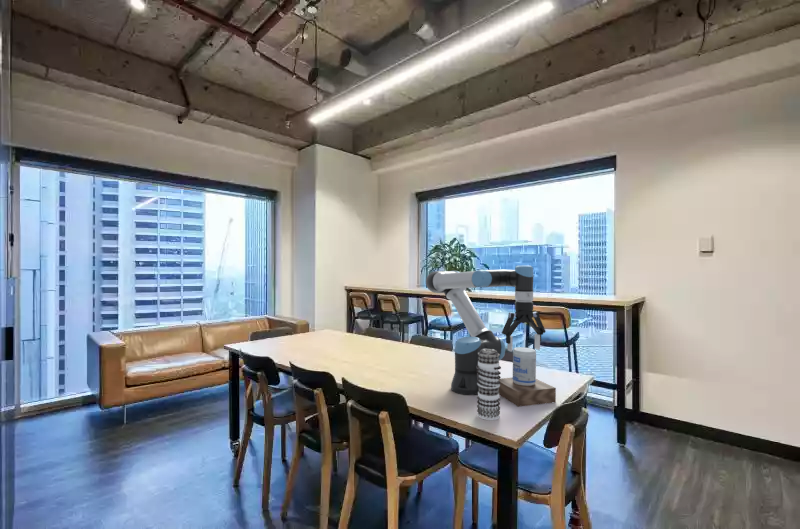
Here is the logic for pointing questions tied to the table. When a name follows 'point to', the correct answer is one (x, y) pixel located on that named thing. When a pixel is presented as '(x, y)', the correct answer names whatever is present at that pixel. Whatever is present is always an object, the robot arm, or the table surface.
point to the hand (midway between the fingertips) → (523, 350)
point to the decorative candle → (488, 384)
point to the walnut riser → (526, 392)
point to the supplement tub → (524, 366)
